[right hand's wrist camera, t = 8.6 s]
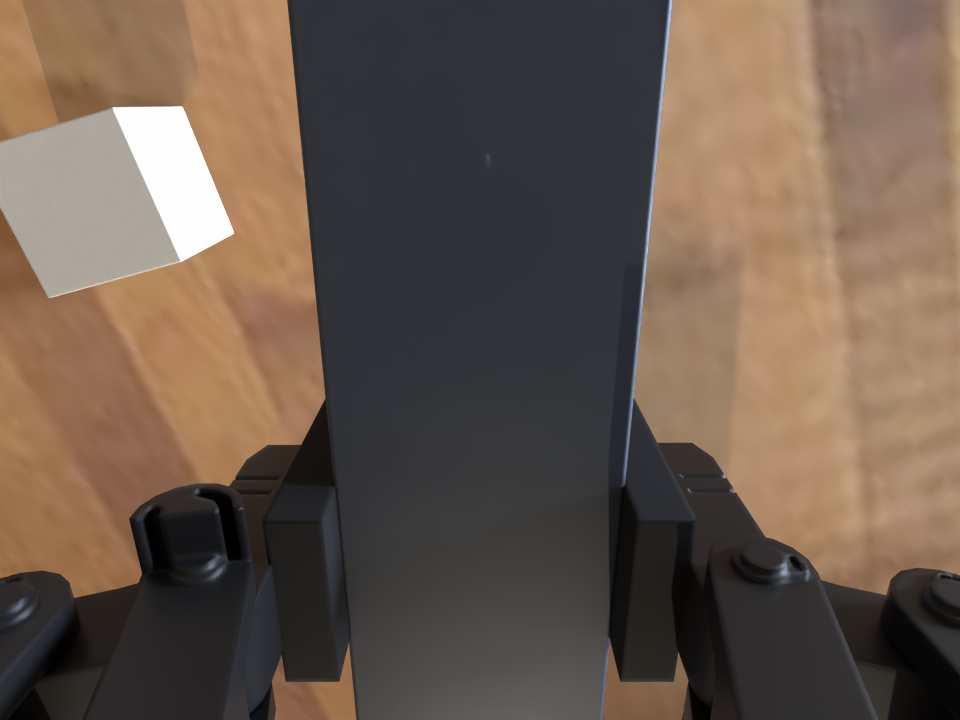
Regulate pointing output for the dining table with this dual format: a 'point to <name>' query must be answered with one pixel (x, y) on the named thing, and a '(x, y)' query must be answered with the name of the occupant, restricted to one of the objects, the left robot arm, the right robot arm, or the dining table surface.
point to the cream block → (109, 196)
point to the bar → (479, 333)
